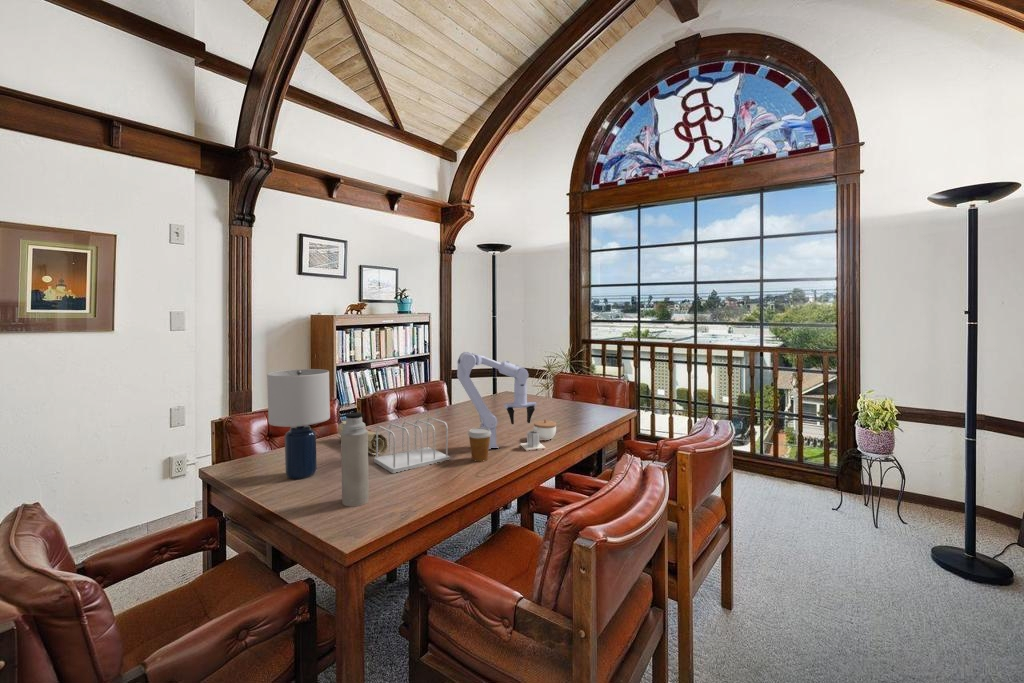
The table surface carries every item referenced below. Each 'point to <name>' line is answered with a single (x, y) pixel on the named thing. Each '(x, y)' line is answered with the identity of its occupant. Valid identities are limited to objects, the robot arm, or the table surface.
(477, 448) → the disposable coffee cup
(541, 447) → the white peg stand
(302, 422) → the lamp
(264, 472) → the table surface
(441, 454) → the file sorter
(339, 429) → the scroll
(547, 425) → the lidded jar
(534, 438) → the collar
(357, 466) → the thermos bottle
